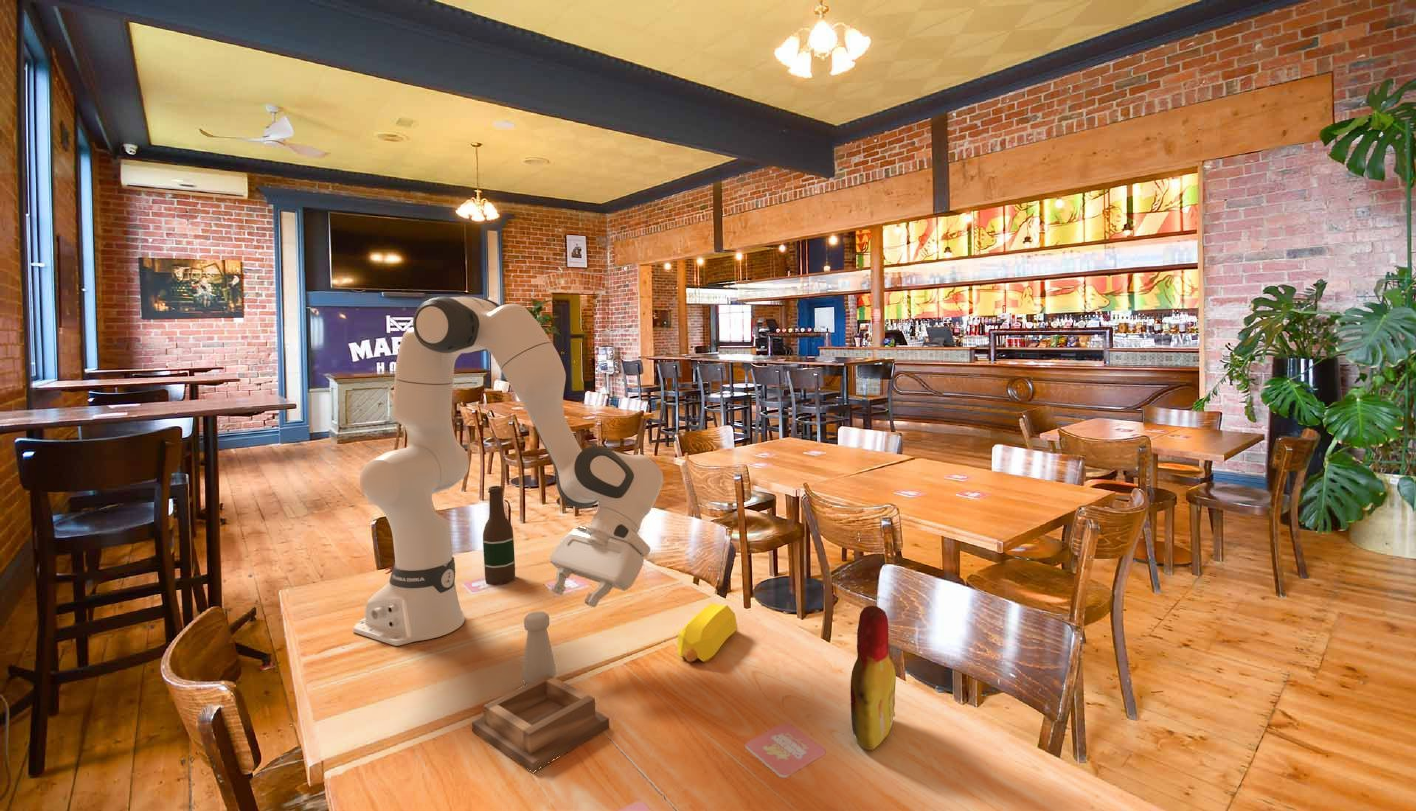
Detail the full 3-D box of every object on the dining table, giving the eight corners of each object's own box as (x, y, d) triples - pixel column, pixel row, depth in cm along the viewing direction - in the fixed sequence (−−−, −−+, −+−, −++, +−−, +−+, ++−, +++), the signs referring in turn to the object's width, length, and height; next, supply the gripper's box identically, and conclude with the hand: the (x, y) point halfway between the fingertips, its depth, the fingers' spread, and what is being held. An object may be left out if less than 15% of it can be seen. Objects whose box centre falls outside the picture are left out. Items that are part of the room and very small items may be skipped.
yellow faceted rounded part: (669, 663, 124) (707, 670, 121) (668, 628, 123) (706, 635, 120) (708, 624, 140) (743, 630, 137) (708, 593, 140) (742, 598, 137)
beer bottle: (493, 573, 173) (488, 483, 171) (521, 574, 172) (516, 483, 170) (478, 584, 166) (473, 490, 163) (508, 585, 165) (503, 490, 162)
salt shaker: (548, 696, 113) (544, 622, 112) (516, 693, 114) (512, 620, 113) (562, 678, 119) (558, 608, 118) (532, 676, 120) (528, 606, 119)
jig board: (472, 731, 103) (470, 703, 103) (547, 693, 114) (545, 668, 114) (533, 772, 93) (531, 742, 93) (609, 727, 104) (608, 699, 103)
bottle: (883, 763, 94) (884, 626, 92) (839, 750, 96) (839, 618, 94) (901, 719, 104) (902, 595, 102) (860, 709, 107) (861, 589, 105)
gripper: (566, 515, 132) (527, 578, 125) (638, 533, 118) (598, 604, 112) (585, 532, 135) (547, 593, 129) (657, 551, 122) (619, 620, 116)
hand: (572, 598), depth 120 cm, fingers open, 8 cm apart
